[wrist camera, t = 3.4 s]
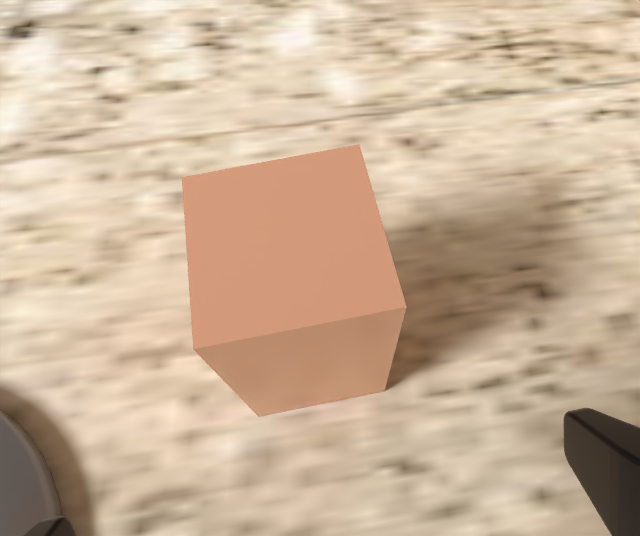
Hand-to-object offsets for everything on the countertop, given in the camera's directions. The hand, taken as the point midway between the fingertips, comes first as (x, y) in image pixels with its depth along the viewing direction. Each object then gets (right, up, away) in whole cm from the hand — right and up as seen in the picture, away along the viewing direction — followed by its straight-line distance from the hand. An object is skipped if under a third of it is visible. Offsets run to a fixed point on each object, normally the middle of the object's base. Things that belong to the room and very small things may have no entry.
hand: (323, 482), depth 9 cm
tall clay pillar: (-1, 0, +14) cm, 15 cm away
